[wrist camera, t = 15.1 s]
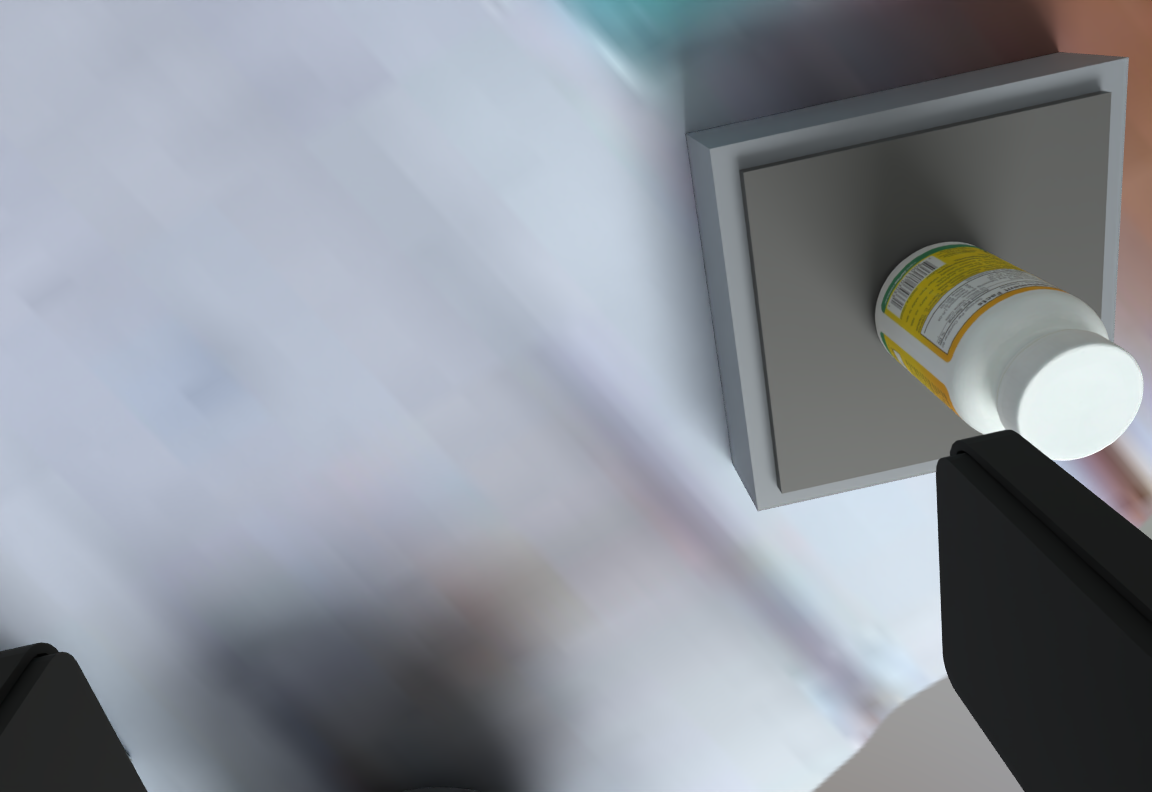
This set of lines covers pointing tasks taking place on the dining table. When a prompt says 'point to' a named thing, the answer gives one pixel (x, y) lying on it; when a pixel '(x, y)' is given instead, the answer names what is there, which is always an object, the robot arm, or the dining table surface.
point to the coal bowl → (440, 790)
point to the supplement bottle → (1008, 350)
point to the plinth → (890, 251)
